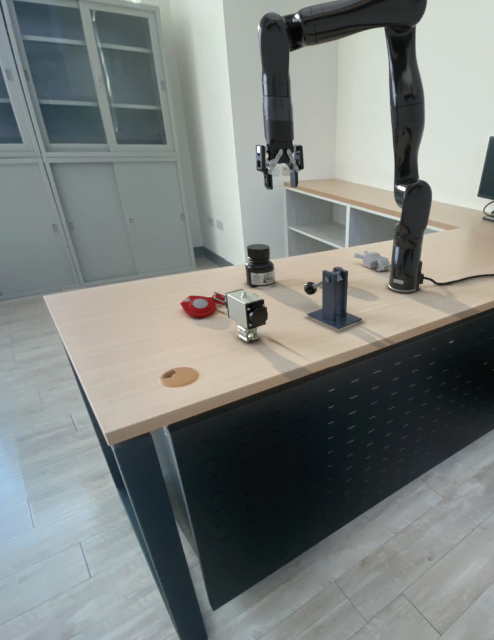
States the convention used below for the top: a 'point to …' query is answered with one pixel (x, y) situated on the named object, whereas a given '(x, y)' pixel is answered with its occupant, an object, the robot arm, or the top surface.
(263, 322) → the pneumatic valve
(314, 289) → the clamp handle
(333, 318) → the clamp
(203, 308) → the tracker holder
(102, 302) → the top surface
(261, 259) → the ink bottle
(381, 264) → the bunny figurine
